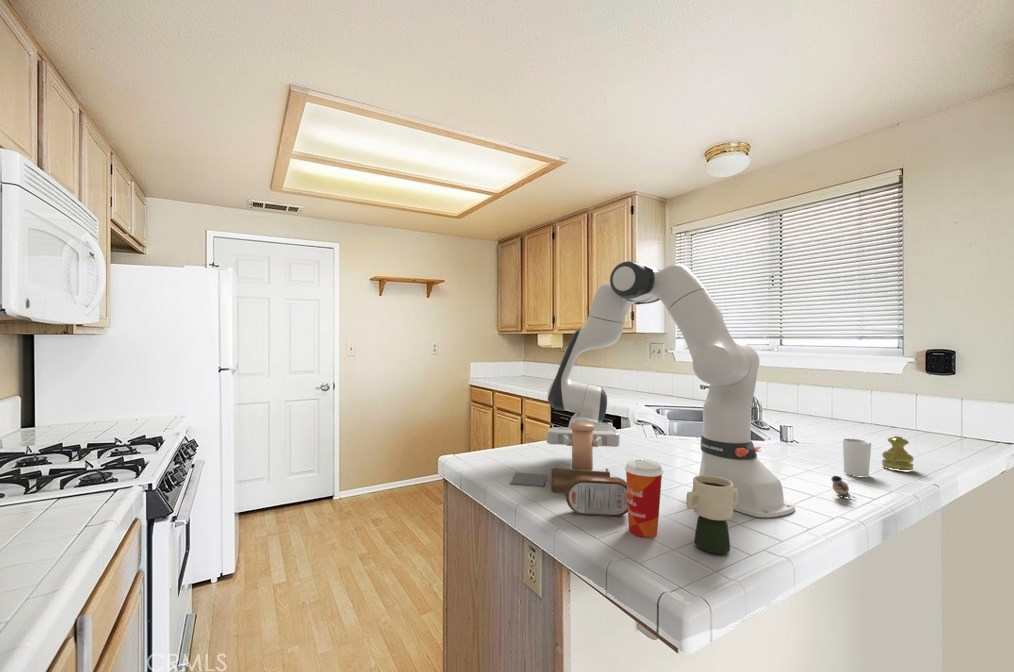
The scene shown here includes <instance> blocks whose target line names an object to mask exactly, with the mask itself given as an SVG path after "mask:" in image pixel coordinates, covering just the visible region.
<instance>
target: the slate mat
mask: <svg viewBox="0 0 1014 672" xmlns="http://www.w3.org/2000/svg"><path fill="white" fill-rule="evenodd" d="M547 477H548V474H545V473H544V474H543V473H531V472H530V473H527V472H514V475H513V477H512V479H511V480H510V482H509V484H510V485H515V486H517V485H519V486H528V487H529V486H530V487H542V488H543V487H545V484H546V481H547Z"/></svg>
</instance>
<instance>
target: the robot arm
mask: <svg viewBox="0 0 1014 672" xmlns="http://www.w3.org/2000/svg"><path fill="white" fill-rule="evenodd" d="M659 301H661V303H662V304H663V305H664V306H665V308H666V310H667V312H668V313H669V315H670V316H671V318H672V320H673V321H674V323H675V324H676V326H677V328H678V330H679V331H680V332H681V335H682V336H683V338H684V340H685V342H686V346H687V348H688V352H689V354H690V356H691V359H692V369H693V372H694V374H695V375H696V377H697V378H698V379H699V380H700V381H702V382H703V383H706V384H708V385H709V387H708V391H707V395H706V399H705V401H704V404H703V406H702V408H703V409H702V435H701V437H700V450H701V459H700V467H699V473H698V476H700V475H709V476H716V477H721V478H725V479H727V480H730V481H731V482H733V486H734V489H737V490H738V505H736V506H733V511H736V512H739V513H741V514H742V513H743V514H745V515H749V516H752V517H754V518H777V517H782V516H786V515H789V514H792V513H793V512H795V511H796V509H795V504H794V503H793V502H791V501H789V500H786V499H784V490H783V489H784V488H783V485H782V483H781V480H779V478H778V477H777V476H776V475H775V474H774V473H773V472H772V471H770V470H769V468H767V466H765V464H764V463H763V462H761V460H759V458H758V455H757V454H758V452H759V453H760V452H762V451H761V450H760V449H761V448H762V447H761V446H756V447H755V445H754V443H753V441H752V440H751V436H752V435H751V434H752V433H751V432H752V431H751V429H752V406H753V400H754V396H755V395H754V394H755V390H756V383H757V377H758V370H759V367H760V356H759V354H758V353H757V352H756V350H755V349H754V348H753V347H752V346H750V345H749V344H747V343H745V342H744V341H743V342H742V341H738V340H737V341H736V340H734V339H733V337H732V336H731V334H730V332H729V330H728V327H727V325H726V322H725V321H724V316H723V315H724V314H723V313H722V312H721V309H720V308H719V307H718V305H717V304H716V303H715V301H714V299H713V298H712V297H711V295H710V293H709V292H708V291H707V289H706V288H705V286H704V285H703V283H701V281H700V280H699V278H697V277H696V275H695V274H694V273H693V272H692V271H691V270H690V269H689V268H688V267H687V266H686V265H684V264H681V263H675V264H674V263H673V264H670V265H668V266H665V267H664V268H662V269H661V270H660V269H659V268H655V267H653V266H651V265H649V264H648V263H647V264H646V263H644V262H638V261H634V260H629V261H628V260H627V261H624V262H621V263H618V264H617V265H616V266H615V267H613V269H612V271H611V274H610V276H609V282H606V283H603V284H601V285H599V287H597V290H596V292H595V294H594V296H593V299H592V303H591V305H590V309H589V313H588V317H587V320H586V322H585V324H584V325H583V326H582V328H581V329H578V330H577V329H576V331H575V332H574V333H573V335H572V337H571V338H570V341H569V342H568V346H567V347H566V350H565V352H564V355H563V357H562V360H561V362H560V364H559V368H558V370H557V373H556V374H555V377H554V378H553V379H552V382H551V384H550V385H549V388H548V390H547V402H548V403H549V405H550V406H551V407H552V408H553V409H554V410H557V411H564V412H565V411H567V412H571V413H574V414H573V416H572V417H570V420H569V423H568V427H566V426H565V427H562V426H558V427H557V426H556V427H555V426H554V427H550V428H549V429H547V431H546V443H547V444H548V445H562V446H563V445H564V446H565V445H566V446H567V447H568V446H569V447H572V429H570V424H571V423H573V422H588V423H593V424H594V430H593V448H599V447H609V448H610V447H613V448H617V447H618V448H619V446H620V433H619V430H618V429H616V427H614V426H613V423H612V422H608V421H603V420H604V418H605V416H606V412H607V409H608V408H607V407H608V395H607V393H606V391H605V389H604V388H603V387H602V386H598V385H594V384H589V383H584V382H578V381H575V380H574V381H573V380H571V379H570V375H571V373H572V371H573V368H574V365H575V362H576V360H577V358H578V356H579V355H580V354H581V353H584V352H586V351H591V350H599V349H604V348H608V347H610V346H612V345H614V344H616V343H617V342H618V341H619V340H620V338H621V335H622V333H623V330H624V327H625V322H626V317H627V313H628V310H629V308H630V307H631V306H632V305H644V304H645V305H648V304H652V303H656V302H659Z"/></svg>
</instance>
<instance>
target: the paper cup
mask: <svg viewBox="0 0 1014 672" xmlns="http://www.w3.org/2000/svg"><path fill="white" fill-rule="evenodd" d="M624 471H625V474H626V476H625V477H626V482H627V502H628V512H627V519H628V521H627V522H628V523H627V524H628V530H629V533H631V534H632V535H633V536H636V537H638V538H647V539H650V538H654V537H656V536H657V534H658V528H659V519H660V517H659V516H660V514H659V513H660V503H661V492H662V491H661V490H662V477H663V476H662V475H664V470H663V468H662V465H661V464H660V463H658V462H657V461H653V460H649V459H643V460H642V459H635V460H634V459H631V460H628V461H627V462H626V466H625V467H624Z"/></svg>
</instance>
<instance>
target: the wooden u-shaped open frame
mask: <svg viewBox="0 0 1014 672" xmlns="http://www.w3.org/2000/svg"><path fill="white" fill-rule="evenodd" d="M550 470H551V471H550V472H551V473H550V474H551V475H550V476H551V477H550V493H555V494H556V493H557V494H565V489H566V486H567V484H568V483H569V481H570V480H572V479H573V478H575V477H577V476H582V475H583V476H600V477H611V471H609V468H605V470H604V471H603V470H602V471H601V470H592V471H589V470H574V469H572V468H570V469H569V468H558V467H557V465H553V467H551V469H550Z"/></svg>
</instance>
